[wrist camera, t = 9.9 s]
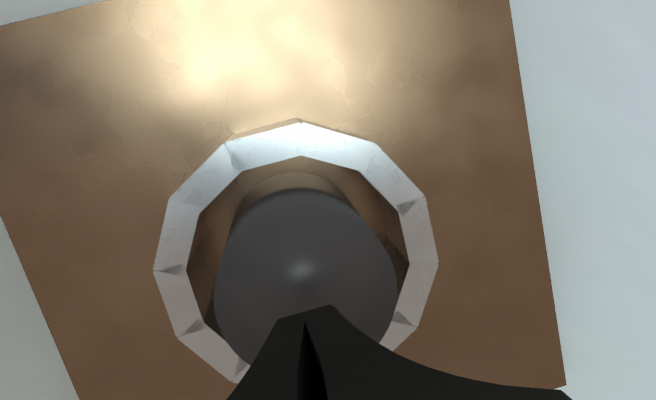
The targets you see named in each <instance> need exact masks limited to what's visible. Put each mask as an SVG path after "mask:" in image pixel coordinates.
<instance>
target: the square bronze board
mask: <svg viewBox="0 0 656 400" xmlns="http://www.w3.org/2000/svg"><path fill="white" fill-rule="evenodd" d="M296 172H297V173H307V174H312V175H315V176H318V177H321V178H323V179H325V180H327V181H329V182H331V183H332V184H333V185H335V186H336V187H337V188H338V189H340V190H341V191H342V192H343V193H344V195H345V196H346V197H347V198H348V200H349V201H350V202H351V204H352V205H353V206H354V208H355V209H356V210H357V212H358V213H359V214H360V215H361V217H362V218H363V219H364V221H365V222H366V223H367V225H368V226H369V227H370V229H371V230H372V231H373V233H374V234H375V235H376V237H377V238H378V239H379V241H380V242H381V243H382V245H383V246H384V248H385V250H386V251H387V253H388V255H389V257H390V259H391V261H392V264H393V267H394V271H395V274H396V281H397V301H396V308H395V311H394V315H393V318H392V321H391V323H390V326H389V328H388V330H387V332H386V333H385V335H384V337H383V338H382V340H381V341H380V342H379V344H381V345H383V346H384V347H386V348H387V349H389V350H391V351H393V352H394V353H396V354H398V355H401V356H403V357H405V358H407V359H410V360H412V361H414V362H416V363H419V364H421V365H424V366H427V367H430V368H433V369H436V370H439V371H442V372H446V373H449V374H452V375H456V376H460V377H464V378H468V379H473V380H478V381H484V382H489V383H495V384H500V385H507V386H519V387H530V388H542V389H555V388H558V387H562V386H565V385H566V379H565V372H564V366H563V359H562V352H561V346H560V339H559V332H558V325H557V319H556V312H555V305H554V299H553V292H552V285H551V279H550V272H549V265H548V258H547V252H546V245H545V238H544V232H543V225H542V218H541V212H540V205H539V198H538V191H537V185H536V178H535V171H534V165H533V158H532V151H531V144H530V138H529V131H528V124H527V118H526V111H525V104H524V98H523V91H522V84H521V77H520V71H519V64H518V57H517V51H516V44H515V37H514V30H513V24H512V17H511V10H510V4H509V0H106V1H102V2H98V3H93V4H89V5H85V6H81V7H77V8H73V9H68V10H64V11H60V12H56V13H52V14H48V15H44V16H39V17H35V18H31V19H27V20H23V21H19V22H14V23H10V24H6V25H2V26H0V215H1V217H2V220H3V222H4V224H5V227H6V229H7V231H8V234H9V236H10V238H11V241H12V243H13V245H14V248H15V250H16V252H17V255H18V257H19V259H20V262H21V264H22V266H23V269H24V271H25V273H26V276H27V278H28V280H29V283H30V285H31V287H32V290H33V292H34V294H35V297H36V299H37V301H38V304H39V306H40V308H41V311H42V313H43V315H44V318H45V320H46V322H47V325H48V327H49V329H50V332H51V334H52V336H53V339H54V341H55V343H56V346H57V348H58V350H59V353H60V355H61V357H62V360H63V362H64V364H65V367H66V369H67V371H68V374H69V376H70V378H71V381H72V383H73V385H74V388H75V390H76V392H77V395H78V397H79V399H80V400H226V399H227V398H228V397H229V396H230V394H231V393H232V392H233V390H234V389H235V388H236V386H237V385H238V383H239V382H240V381H241V379H242V378H243V376H244V375H245V373H246V372H247V371H248V369H249V368H250V365H249V364H247V363H246V362H245V361H243V360H242V359H241V358H240V357H239V356H238V355H237V354H236V353H235V352H234V351H233V350H232V348H231V347H230V346H229V345H228V343H227V342H226V340H225V338H224V337H223V335H222V333H221V331H220V328H219V326H218V323H217V319H216V315H215V311H214V286H215V281H216V276H217V273H218V269H219V266H220V262H221V259H222V255H223V252H224V248H225V245H226V241H227V238H228V235H229V231H230V228H231V224H232V221H233V218H234V215H235V212H236V210H237V208H238V206H239V204H240V203H241V201H242V200H243V198H244V197H245V196H246V195H247V194H248V192H249V191H250V190H252V189H253V188H254V187H255V186H256V185H258V184H259V183H261V182H263V181H264V180H266V179H269V178H271V177H273V176H276V175H280V174H285V173H296Z"/></svg>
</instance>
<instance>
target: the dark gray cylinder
mask: <svg viewBox="0 0 656 400" xmlns="http://www.w3.org/2000/svg"><path fill="white" fill-rule="evenodd" d="M396 301H397V281H396V274H395V271H394V267H393V264H392V261H391V259H390V257H389V255H388V253H387V251H386V250H385V248H384V246H383V245H382V243H381V242H380V241H379V239H378V238H377V237H376V235H375V234H374V233H373V231H372V230H371V229H370V227H369V226H368V225H367V223H366V222H365V221H364V219H363V218H362V217H361V215H360V214H359V213H358V212H357V210H356V209H355V208H354V206H353V205H352V204H351V202H350V201H349V200H348V198H347V197H346V196H345V195H344V193H343V192H342V191H341V190H340V189H338V188H337V187H336V186H335V185H333V184H332V183H331V182H329V181H327V180H325V179H323V178H321V177H318V176H315V175H312V174H307V173H297V172H296V173H285V174H280V175H276V176H273V177H271V178H269V179H266V180H264V181H263V182H261V183H259V184H258V185H256V186H255V187H254V188H253V189H252V190H250V191H249V192H248V194H247V195H246V196H245V197H244V198H243V200H242V201H241V203H240V204H239V206H238V208H237V210H236V212H235V215H234V218H233V221H232V224H231V228H230V231H229V235H228V238H227V241H226V245H225V248H224V252H223V255H222V259H221V262H220V266H219V269H218V273H217V276H216V281H215V286H214V311H215V315H216V319H217V323H218V326H219V328H220V331H221V333H222V335H223V337H224V338H225V340H226V342H227V343H228V345H229V346H230V347H231V348H232V350H233V351H234V352H235V353H236V354H237V355H238V356H239V357H240V358H241V359H242V360H243V361H245V362H246V363H247V364H249V365H250V366H251V365H252V363H253V361H254V360H255V358H256V356H257V355H258V353H259V351H260V350H261V348H262V346H263V344H264V343H265V341H266V339H267V337H268V335H269V334H270V332H271V330H272V328H273V326H274V325H275V323H276V321H277V320H278V319H280V318H283V317H287V316H290V315H294V314H297V313H301V312H305V311H308V310H312V309H315V308H319V307H323V306H326V305H330V304H331V305H332V306H334V307H336V308H337V310H338V311H339V312H340V313H341V314H342V315H343V316H344V317H345V318H346V319H347V320H349V321H350V322H351V323H352V324H353V325H354V326H356V327H357V328H358V329H359V330H361V331H362V332H364V333H365V334H366V335H368V336H369V337H370V338H372V339H373V340H375V341H376V342H378V343H379V342H380V341H381V340H382V338H383V337H384V335H385V333H386V332H387V330H388V328H389V326H390V323H391V321H392V318H393V315H394V311H395V308H396Z"/></svg>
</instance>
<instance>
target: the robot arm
mask: <svg viewBox="0 0 656 400" xmlns="http://www.w3.org/2000/svg"><path fill="white" fill-rule="evenodd" d="M226 400H572V399H571V398H569V397H568V396H567V395H566V394H565V393H564V392H563V391H561V390H554V389H542V388H530V387H519V386H507V385H500V384H495V383H489V382H484V381H478V380H473V379H468V378H464V377H460V376H456V375H452V374H449V373H446V372H442V371H439V370H436V369H433V368H430V367H427V366H424V365H421V364H419V363H416V362H414V361H412V360H410V359H407V358H405V357H403V356H401V355H398V354H396V353H394V352H393V351H391V350H389V349H387V348H386V347H384V346H383V345H381V344H379V343H378V342H376V341H375V340H373V339H372V338H370V337H369V336H368V335H366V334H365V333H364V332H362V331H361V330H359V329H358V328H357V327H356V326H354V325H353V324H352V323H351V322H350V321H349V320H347V319H346V318H345V317H344V316H343V315H342V314H341V313H340V312H339V311H338V310H337V308H336V307H334V306H332V305H331V304H330V305H326V306H323V307H319V308H315V309H312V310H308V311H305V312H301V313H297V314H294V315H290V316H287V317H283V318H280V319H278V320H277V321H276V323H275V325H274V326H273V328H272V330H271V332H270V334H269V335H268V337H267V339H266V341H265V343H264V344H263V346H262V348H261V350H260V351H259V353H258V355H257V356H256V358H255V360H254V361H253V363H252V365H251V366H250V368H249V369H248V371H247V372H246V373H245V375H244V376H243V378H242V379H241V381H240V382H239V383H238V385H237V386H236V388H235V389H234V390H233V392H232V393H231V394H230V396H229V397H228V398H227V399H226Z"/></svg>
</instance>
